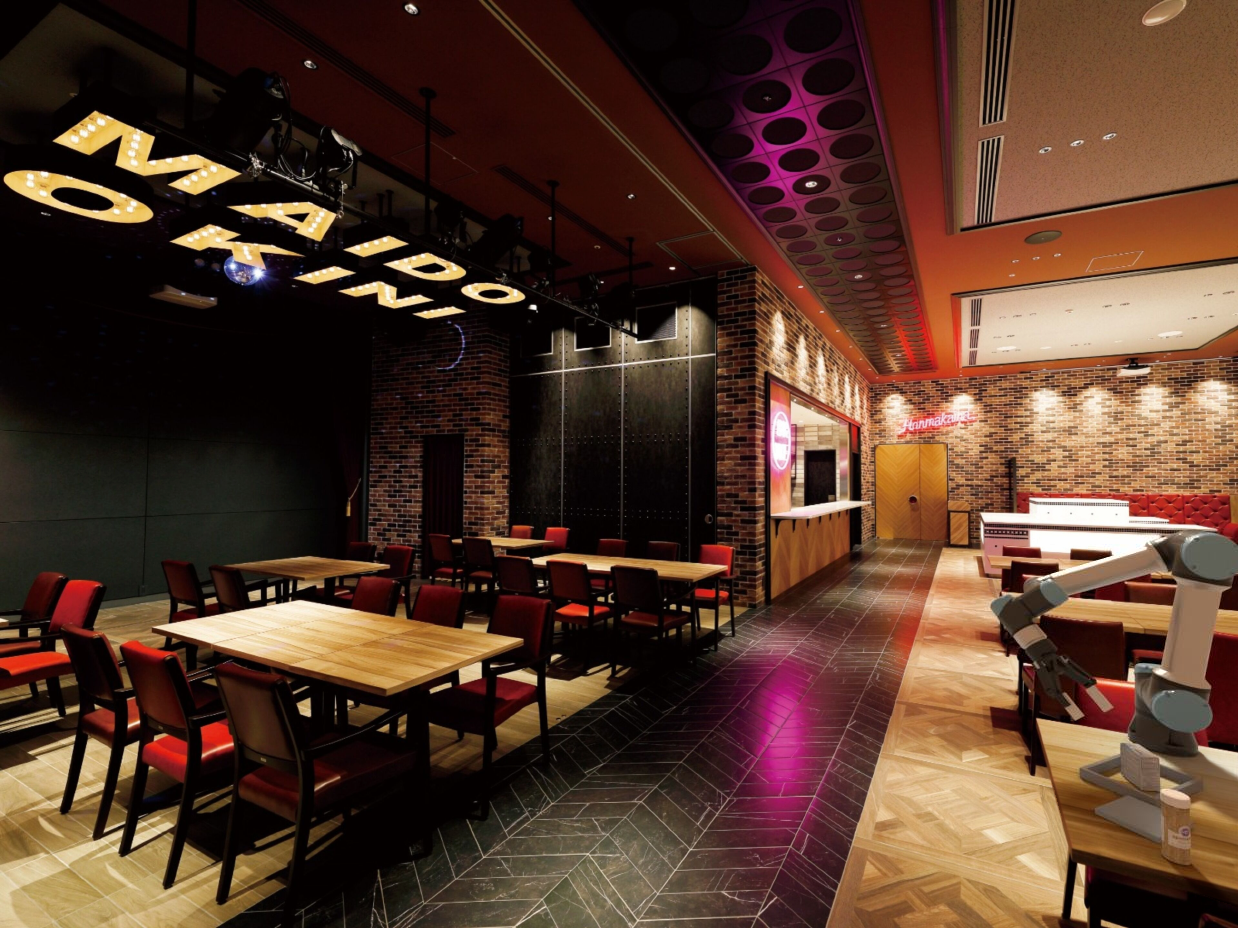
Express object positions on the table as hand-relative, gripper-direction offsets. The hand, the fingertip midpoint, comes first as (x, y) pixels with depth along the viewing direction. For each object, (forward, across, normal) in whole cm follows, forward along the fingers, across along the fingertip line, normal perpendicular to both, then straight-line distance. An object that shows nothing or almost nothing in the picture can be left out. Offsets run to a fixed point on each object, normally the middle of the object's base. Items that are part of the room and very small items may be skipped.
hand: (1094, 713), depth 157 cm
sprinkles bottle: (+30, +28, +10) cm, 43 cm away
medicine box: (+17, 0, -3) cm, 17 cm away
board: (+23, +18, +3) cm, 30 cm away
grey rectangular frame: (+17, 0, -3) cm, 17 cm away
